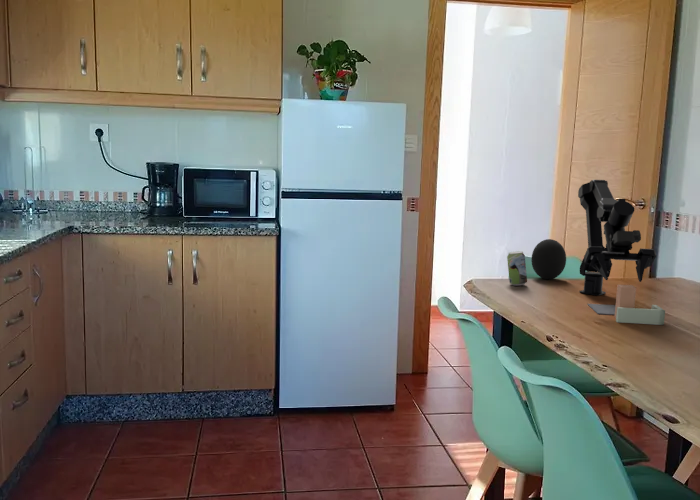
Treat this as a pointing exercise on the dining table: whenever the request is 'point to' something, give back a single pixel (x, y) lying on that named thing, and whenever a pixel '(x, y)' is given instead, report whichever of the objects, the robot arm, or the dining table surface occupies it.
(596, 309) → the charcoal mat
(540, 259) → the decorative egg
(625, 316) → the bar
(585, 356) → the dining table surface
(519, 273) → the beverage can
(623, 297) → the terracotta block
